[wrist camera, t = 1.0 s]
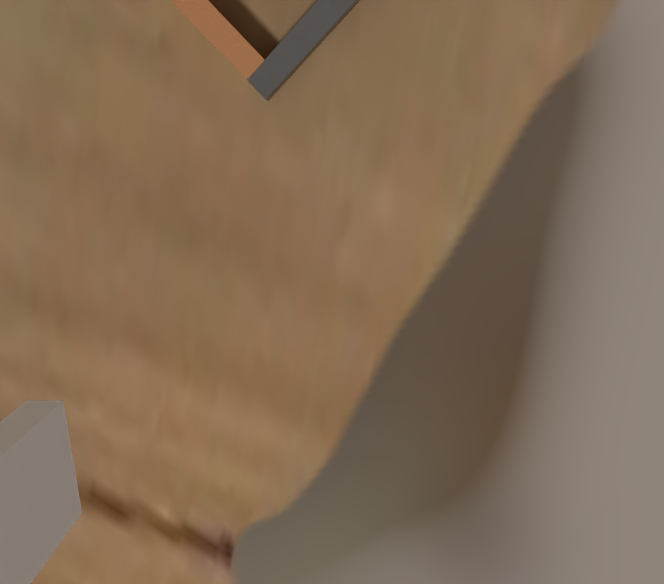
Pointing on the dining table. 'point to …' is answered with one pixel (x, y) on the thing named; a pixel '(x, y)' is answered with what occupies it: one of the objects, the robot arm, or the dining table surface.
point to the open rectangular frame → (285, 57)
